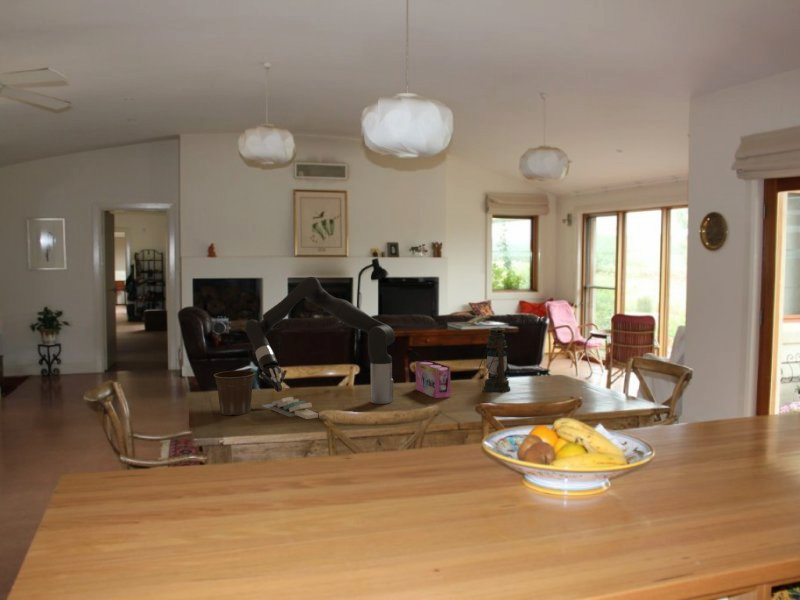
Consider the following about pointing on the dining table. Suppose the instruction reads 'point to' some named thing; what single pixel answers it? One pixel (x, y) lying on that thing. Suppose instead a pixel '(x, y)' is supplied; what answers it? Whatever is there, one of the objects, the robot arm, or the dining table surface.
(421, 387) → the gum box
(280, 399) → the domino
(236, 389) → the plant pot
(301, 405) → the domino
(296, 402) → the teal tile
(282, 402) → the domino
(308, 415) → the domino
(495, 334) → the lantern
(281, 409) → the pale grey flat board
